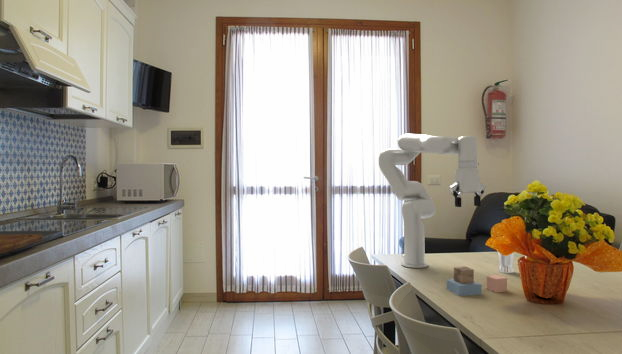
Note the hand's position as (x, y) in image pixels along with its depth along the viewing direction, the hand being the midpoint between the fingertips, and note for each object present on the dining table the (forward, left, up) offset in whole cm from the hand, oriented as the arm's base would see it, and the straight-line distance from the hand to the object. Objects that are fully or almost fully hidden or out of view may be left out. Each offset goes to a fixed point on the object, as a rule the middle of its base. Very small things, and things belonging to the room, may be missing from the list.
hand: (467, 206), depth 168 cm
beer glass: (-3, +23, -31) cm, 38 cm away
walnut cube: (+14, -14, -27) cm, 33 cm away
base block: (+14, -14, -31) cm, 37 cm away
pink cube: (+17, -1, -30) cm, 35 cm away
